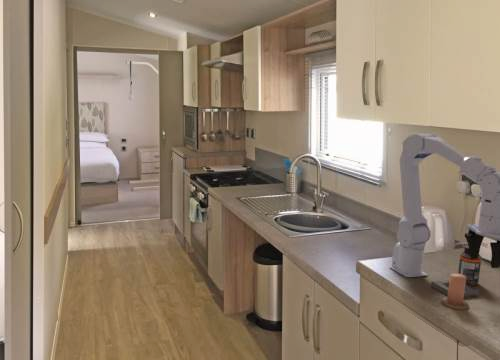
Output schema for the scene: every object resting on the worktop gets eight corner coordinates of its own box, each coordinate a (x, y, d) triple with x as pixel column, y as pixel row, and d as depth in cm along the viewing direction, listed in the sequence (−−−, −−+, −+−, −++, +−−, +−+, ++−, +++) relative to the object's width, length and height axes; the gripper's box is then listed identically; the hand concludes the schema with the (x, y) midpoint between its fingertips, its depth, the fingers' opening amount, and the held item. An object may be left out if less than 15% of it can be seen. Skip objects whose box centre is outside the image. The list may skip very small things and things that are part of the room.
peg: (443, 300, 137) (447, 274, 136) (455, 298, 139) (458, 272, 137) (454, 306, 134) (458, 279, 132) (466, 304, 135) (469, 278, 134)
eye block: (431, 286, 148) (431, 281, 148) (455, 284, 152) (456, 279, 151) (452, 298, 140) (453, 293, 140) (478, 295, 143) (478, 290, 143)
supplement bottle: (460, 277, 158) (464, 242, 156) (480, 282, 154) (485, 247, 152) (454, 282, 153) (458, 246, 151) (474, 287, 150) (479, 251, 148)
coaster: (435, 300, 138) (435, 298, 138) (455, 298, 140) (455, 296, 140) (453, 310, 132) (453, 309, 132) (474, 308, 134) (474, 306, 134)
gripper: (460, 209, 143) (454, 255, 145) (500, 222, 129) (493, 272, 132) (479, 209, 145) (473, 254, 148) (521, 221, 132) (513, 271, 134)
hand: (484, 262), depth 140 cm, fingers open, 7 cm apart
